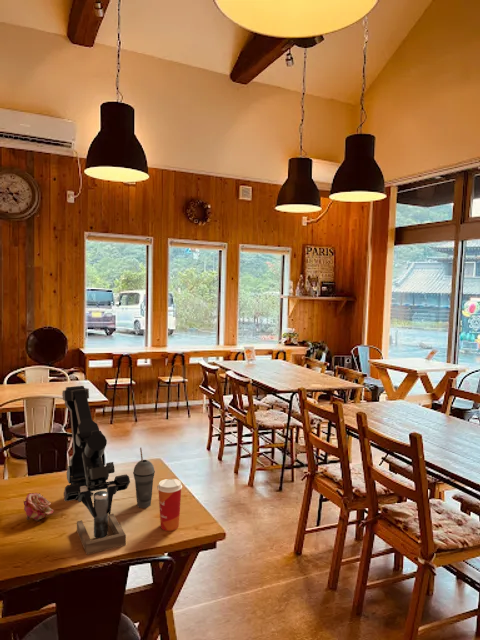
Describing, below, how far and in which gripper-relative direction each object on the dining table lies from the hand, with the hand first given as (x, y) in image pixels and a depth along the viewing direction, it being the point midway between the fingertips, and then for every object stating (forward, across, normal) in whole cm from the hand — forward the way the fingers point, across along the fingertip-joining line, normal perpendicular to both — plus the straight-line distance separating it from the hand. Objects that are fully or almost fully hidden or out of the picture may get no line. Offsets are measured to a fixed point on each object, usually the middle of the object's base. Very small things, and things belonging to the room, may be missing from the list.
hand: (102, 515), depth 139 cm
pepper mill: (+4, 0, +6) cm, 7 cm away
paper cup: (+7, +20, +5) cm, 22 cm away
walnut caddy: (+4, 0, +7) cm, 8 cm away
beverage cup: (-6, +18, +17) cm, 26 cm away
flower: (-10, -15, +22) cm, 28 cm away
